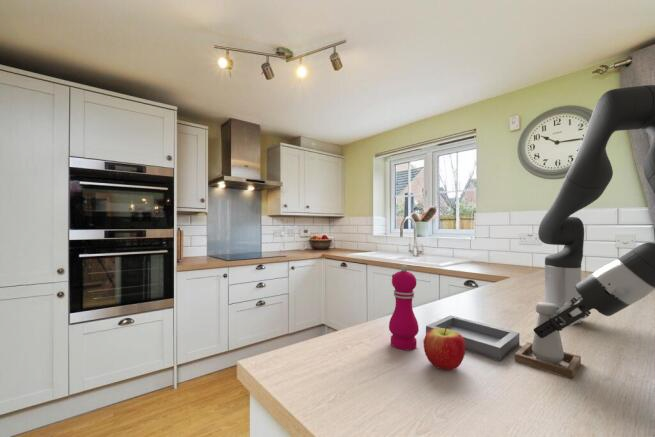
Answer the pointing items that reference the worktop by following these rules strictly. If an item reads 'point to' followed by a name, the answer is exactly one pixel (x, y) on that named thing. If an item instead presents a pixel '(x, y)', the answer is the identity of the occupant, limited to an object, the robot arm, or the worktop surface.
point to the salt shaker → (551, 344)
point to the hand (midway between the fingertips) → (542, 329)
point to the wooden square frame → (567, 372)
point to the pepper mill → (403, 311)
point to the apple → (444, 348)
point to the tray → (481, 336)
